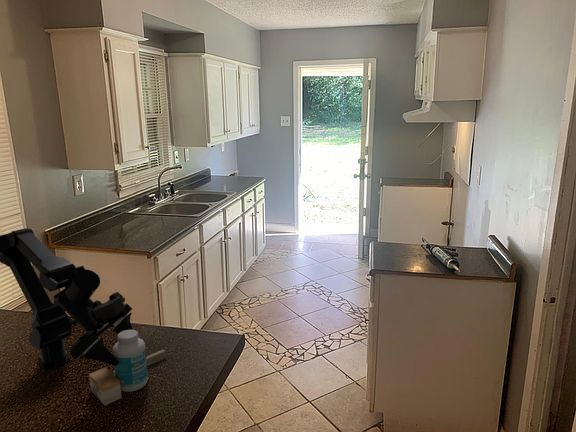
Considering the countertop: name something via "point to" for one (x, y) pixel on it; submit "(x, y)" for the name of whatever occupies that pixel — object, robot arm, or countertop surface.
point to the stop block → (105, 386)
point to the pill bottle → (130, 361)
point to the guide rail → (153, 358)
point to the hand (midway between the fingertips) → (128, 353)
